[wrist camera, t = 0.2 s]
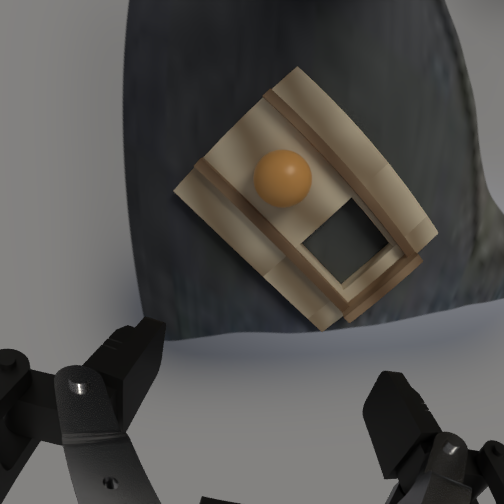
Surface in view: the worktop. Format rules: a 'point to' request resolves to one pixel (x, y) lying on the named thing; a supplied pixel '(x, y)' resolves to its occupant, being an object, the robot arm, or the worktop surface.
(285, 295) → the beige tray
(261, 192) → the ball
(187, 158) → the worktop surface
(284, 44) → the worktop surface
